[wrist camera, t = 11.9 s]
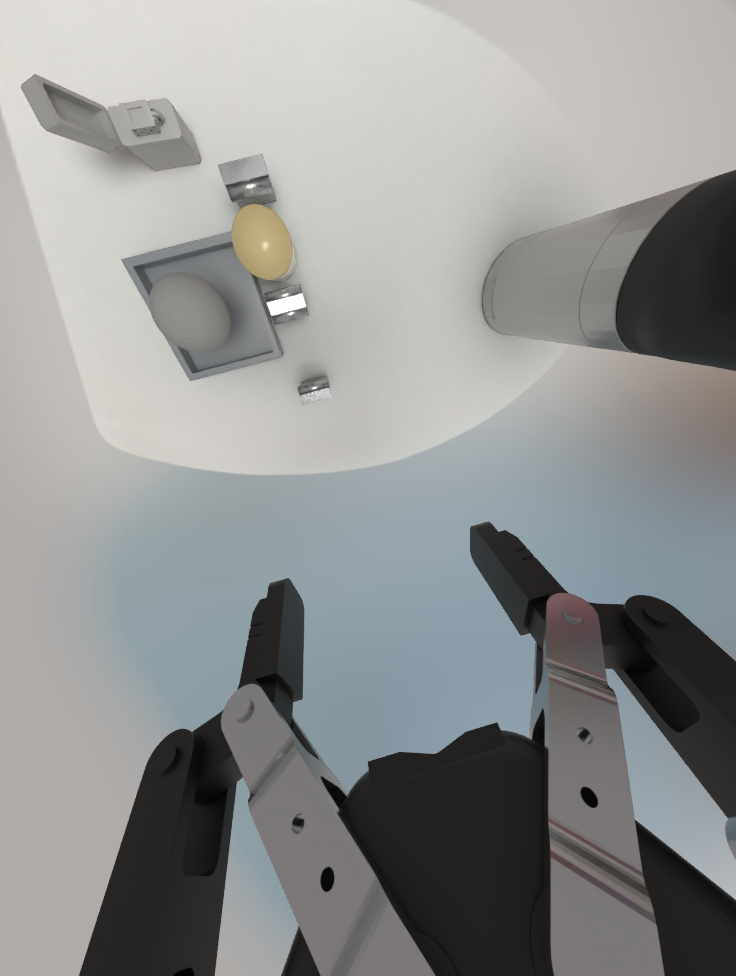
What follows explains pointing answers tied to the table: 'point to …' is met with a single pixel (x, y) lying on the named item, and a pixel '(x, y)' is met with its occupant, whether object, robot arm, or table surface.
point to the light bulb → (190, 312)
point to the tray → (237, 288)
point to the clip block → (255, 187)
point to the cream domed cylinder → (263, 243)
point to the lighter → (115, 124)
